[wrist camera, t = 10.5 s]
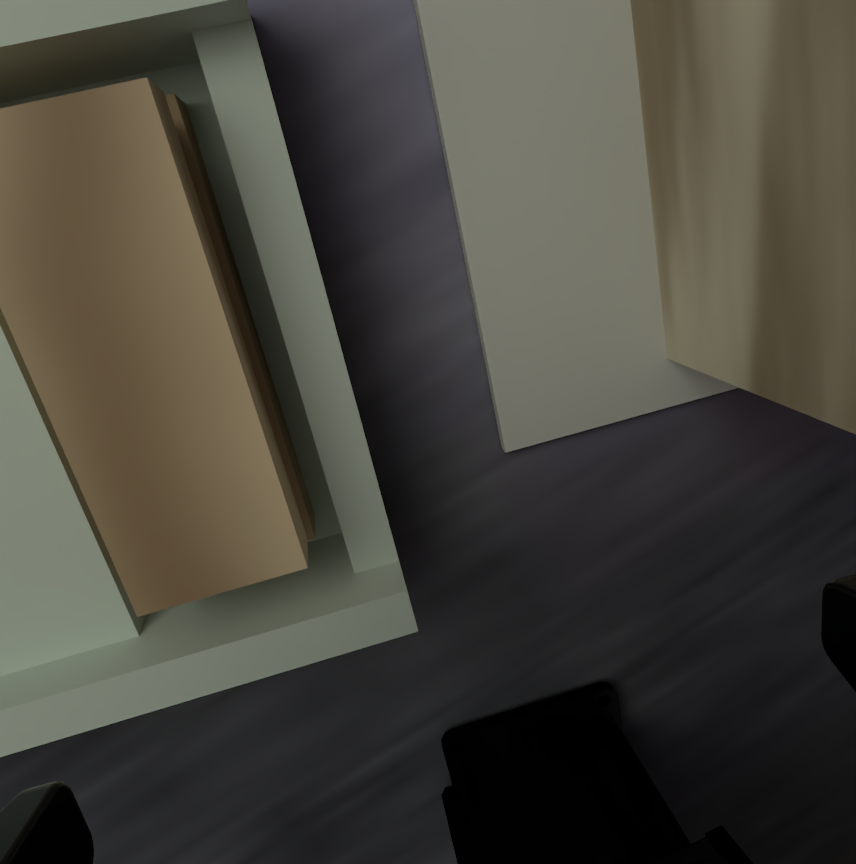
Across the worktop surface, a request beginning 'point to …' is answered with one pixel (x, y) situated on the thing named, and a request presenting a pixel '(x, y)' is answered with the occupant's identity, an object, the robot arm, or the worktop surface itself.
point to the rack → (291, 374)
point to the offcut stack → (146, 344)
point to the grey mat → (554, 211)
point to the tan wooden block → (755, 192)
